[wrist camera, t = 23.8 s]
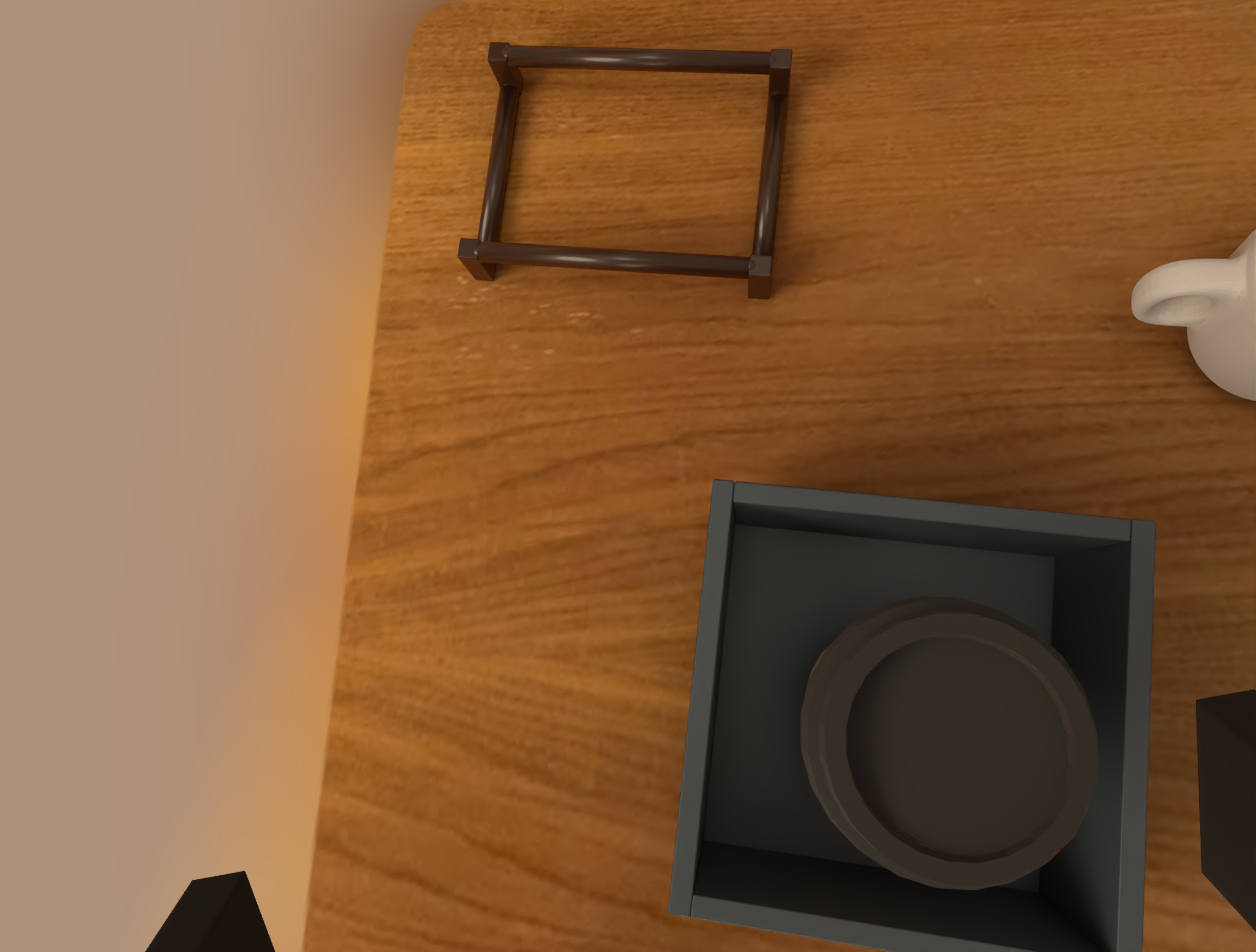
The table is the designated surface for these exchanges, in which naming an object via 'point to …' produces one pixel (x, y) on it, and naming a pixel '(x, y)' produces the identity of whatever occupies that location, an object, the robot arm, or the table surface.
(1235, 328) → the cup
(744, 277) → the rectangular rod frame
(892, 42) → the table surface
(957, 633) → the coffee cup
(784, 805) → the grey open box
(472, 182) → the table surface
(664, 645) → the table surface
